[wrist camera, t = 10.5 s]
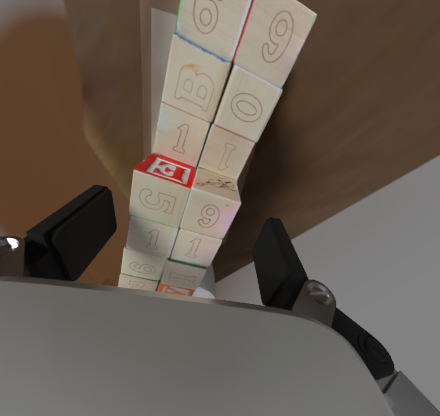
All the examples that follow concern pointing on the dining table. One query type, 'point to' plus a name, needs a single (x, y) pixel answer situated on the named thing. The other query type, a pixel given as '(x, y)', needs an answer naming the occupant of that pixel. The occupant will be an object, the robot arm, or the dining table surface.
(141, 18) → the picture frame
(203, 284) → the cup
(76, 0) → the dining table surface
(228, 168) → the stack of blocks
